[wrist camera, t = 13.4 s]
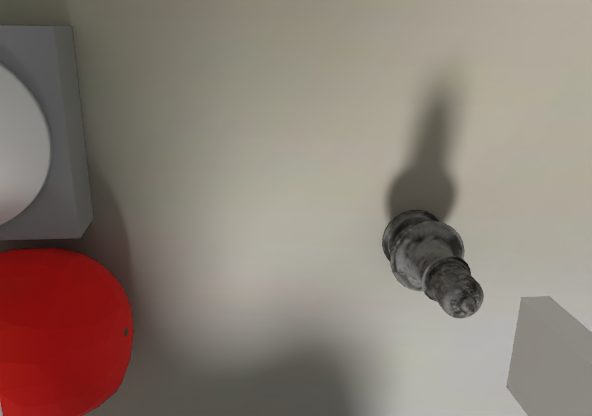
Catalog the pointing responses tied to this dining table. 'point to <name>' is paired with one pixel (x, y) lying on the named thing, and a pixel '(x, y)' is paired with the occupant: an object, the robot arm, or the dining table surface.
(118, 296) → the tomato
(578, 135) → the dining table surface
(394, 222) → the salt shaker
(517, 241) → the dining table surface
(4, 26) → the scale
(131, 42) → the dining table surface
